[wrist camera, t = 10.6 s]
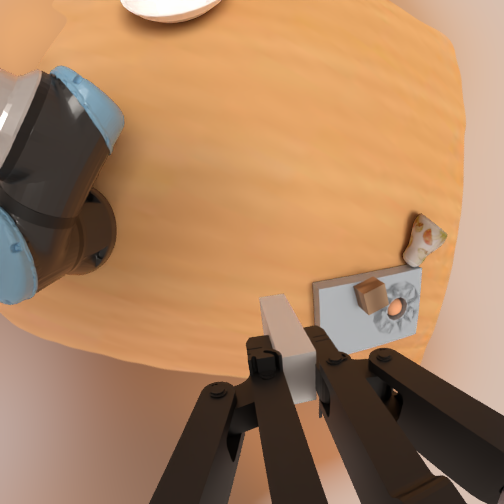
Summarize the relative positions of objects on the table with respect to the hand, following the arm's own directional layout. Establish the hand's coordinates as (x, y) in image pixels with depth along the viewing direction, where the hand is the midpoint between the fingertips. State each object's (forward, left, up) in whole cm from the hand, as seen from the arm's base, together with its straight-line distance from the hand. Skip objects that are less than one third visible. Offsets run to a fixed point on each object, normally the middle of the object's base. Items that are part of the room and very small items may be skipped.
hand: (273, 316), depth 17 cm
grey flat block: (+21, -16, -28) cm, 39 cm away
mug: (+32, -5, -29) cm, 44 cm away
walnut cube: (+19, -11, -25) cm, 33 cm away
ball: (+26, -16, -27) cm, 41 cm away
